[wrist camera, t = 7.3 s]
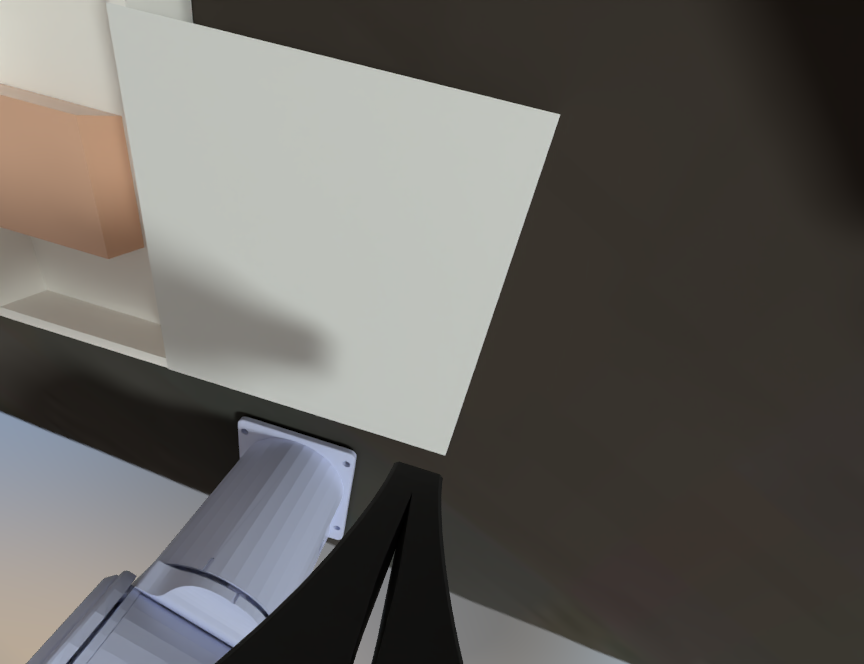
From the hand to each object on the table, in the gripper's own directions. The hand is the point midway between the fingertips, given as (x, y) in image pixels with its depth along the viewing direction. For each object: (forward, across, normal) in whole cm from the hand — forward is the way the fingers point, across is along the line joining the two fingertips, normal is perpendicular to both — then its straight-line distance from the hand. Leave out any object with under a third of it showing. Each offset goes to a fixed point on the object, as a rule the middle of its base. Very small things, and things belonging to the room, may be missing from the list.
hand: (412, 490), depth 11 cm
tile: (+7, +20, -3) cm, 21 cm away
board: (+9, +6, -3) cm, 12 cm away
